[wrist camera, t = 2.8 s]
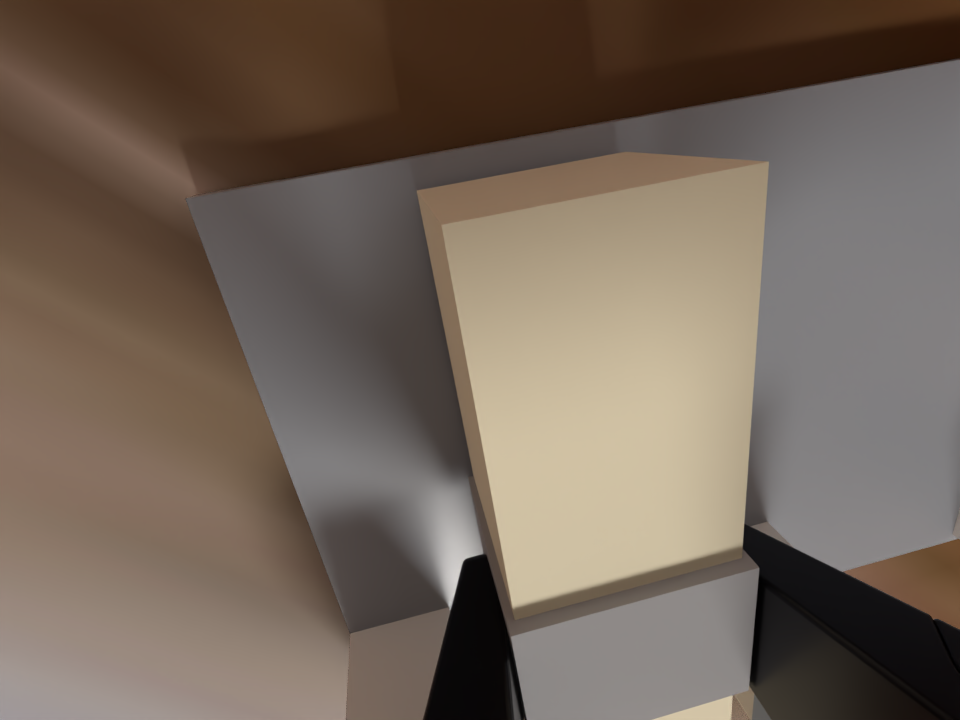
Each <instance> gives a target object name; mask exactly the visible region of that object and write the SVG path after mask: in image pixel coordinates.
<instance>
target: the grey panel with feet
mask: <svg viewBox="0 0 960 720" xmlns="http://www.w3.org/2000/svg"><path fill="white" fill-rule="evenodd" d="M621 152H637V153H651V154H666V155H680V156H695V157H709V158H724V159H738V160H753V161H767V162H769V169H768V184H767V198H766V213H765V227H764V242H763V257H762V271H761V286H760V301H759V315H758V330H757V344H756V359H755V374H754V388H753V403H752V418H751V432H750V447H749V461H748V476H747V491H746V505H745V520H744V523H745V524H747V525H749V526H751V527H753V528H755V529H757V530H759V531H761V532H763V533H765V534H767V535H769V536H771V537H773V538H775V539H777V540H779V541H781V542H783V543H785V544H787V545H789V546H791V547H793V548H795V549H797V550H799V551H801V552H803V553H805V554H807V555H809V556H811V557H813V558H815V559H817V560H819V561H822V562H824V563H826V564H828V565H830V566H832V567H834V568H836V569H838V570H840V571H846V570H849V569H853V568H856V567H860V566H863V565H867V564H870V563H874V562H877V561H881V560H885V559H888V558H892V557H895V556H899V555H902V554H906V553H909V552H913V551H916V550H920V549H923V548H927V547H930V546H934V545H938V544H941V543H945V542H948V541H952V540H955V539H960V58H958V59H952V60H947V61H941V62H935V63H930V64H924V65H919V66H913V67H908V68H902V69H896V70H891V71H885V72H880V73H874V74H868V75H863V76H857V77H852V78H846V79H840V80H835V81H829V82H824V83H818V84H813V85H807V86H801V87H796V88H790V89H785V90H779V91H773V92H768V93H762V94H757V95H751V96H746V97H740V98H734V99H729V100H723V101H718V102H712V103H706V104H701V105H695V106H690V107H684V108H678V109H673V110H667V111H662V112H656V113H651V114H645V115H639V116H634V117H628V118H623V119H617V120H611V121H606V122H600V123H595V124H589V125H583V126H578V127H572V128H567V129H561V130H556V131H550V132H544V133H539V134H533V135H528V136H522V137H516V138H511V139H505V140H500V141H494V142H489V143H483V144H477V145H472V146H466V147H461V148H455V149H449V150H444V151H438V152H433V153H427V154H421V155H416V156H410V157H405V158H399V159H394V160H388V161H382V162H377V163H371V164H366V165H360V166H354V167H349V168H343V169H338V170H332V171H327V172H321V173H315V174H310V175H304V176H299V177H293V178H287V179H282V180H276V181H271V182H265V183H259V184H254V185H248V186H243V187H237V188H232V189H226V190H220V191H215V192H209V193H204V194H198V195H195V196H192V197H189V198H186V202H187V204H188V207H189V210H190V212H191V215H192V218H193V220H194V223H195V226H196V228H197V231H198V233H199V236H200V239H201V241H202V244H203V247H204V249H205V252H206V255H207V257H208V260H209V262H210V265H211V268H212V270H213V273H214V276H215V278H216V281H217V284H218V286H219V289H220V292H221V294H222V297H223V299H224V302H225V305H226V307H227V310H228V313H229V315H230V318H231V321H232V323H233V326H234V328H235V331H236V334H237V336H238V339H239V342H240V344H241V347H242V350H243V352H244V355H245V357H246V360H247V363H248V365H249V368H250V371H251V373H252V376H253V379H254V381H255V384H256V386H257V389H258V392H259V394H260V397H261V400H262V402H263V405H264V408H265V410H266V413H267V416H268V418H269V421H270V423H271V426H272V429H273V431H274V434H275V437H276V439H277V442H278V445H279V447H280V450H281V452H282V455H283V458H284V460H285V463H286V466H287V468H288V471H289V474H290V476H291V479H292V481H293V484H294V487H295V489H296V492H297V495H298V497H299V500H300V503H301V505H302V508H303V511H304V513H305V516H306V518H307V521H308V524H309V526H310V529H311V532H312V534H313V537H314V540H315V542H316V545H317V547H318V550H319V553H320V555H321V558H322V561H323V563H324V566H325V569H326V571H327V574H328V576H329V579H330V582H331V584H332V587H333V590H334V592H335V595H336V598H337V600H338V603H339V605H340V608H341V611H342V613H343V616H344V619H345V621H346V624H347V627H348V629H349V632H350V647H349V666H348V686H347V705H346V720H423V716H424V712H425V709H426V705H427V701H428V697H429V693H430V689H431V685H432V681H433V677H434V673H435V669H436V665H437V661H438V657H439V654H440V650H441V646H442V642H443V638H444V634H445V630H446V626H447V622H448V618H449V614H450V610H451V606H452V602H453V598H454V595H455V591H456V587H457V583H458V579H459V575H460V571H461V567H462V563H463V561H464V560H465V559H466V558H469V557H473V556H477V555H481V554H484V553H483V548H482V543H481V538H480V533H479V529H478V524H477V519H476V514H475V509H474V504H473V499H472V494H471V490H470V485H469V480H468V477H471V476H473V471H472V466H471V461H470V456H469V451H468V446H467V441H466V436H465V431H464V426H463V421H462V416H461V411H460V406H459V401H458V396H457V391H456V385H455V380H454V375H453V370H452V365H451V360H450V355H449V350H448V345H447V340H446V335H445V330H444V325H443V320H442V315H441V310H440V305H439V300H438V295H437V290H436V285H435V280H434V275H433V270H432V265H431V260H430V255H429V250H428V245H427V240H426V235H425V230H424V225H423V220H422V215H421V210H420V205H419V200H418V195H417V190H422V189H428V188H433V187H439V186H444V185H449V184H455V183H460V182H465V181H471V180H476V179H482V178H487V177H492V176H498V175H503V174H508V173H514V172H519V171H525V170H530V169H535V168H541V167H546V166H551V165H557V164H562V163H568V162H573V161H578V160H584V159H589V158H594V157H600V156H605V155H611V154H616V153H621ZM734 696H735V697H736V699H737V701H738V702H739V704H740V705H741V707H742V708H743V710H744V711H745V713H746V715H747V716H748V718H749V719H750V720H771V719H770V717H769V715H768V714H767V712H766V711H765V709H764V708H763V706H762V705H761V703H760V702H759V700H758V699H757V697H756V696H755V694H754V693H753V691H752V689H751V688H750V686H749V691H745V692H742V693H739V694H736V695H734Z"/></svg>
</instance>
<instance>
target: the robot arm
mask: <svg viewBox="0 0 960 720" xmlns="http://www.w3.org/2000/svg"><path fill="white" fill-rule="evenodd" d="M743 550H744V551H745V552H746V553H747V554H748V555H749V557H750V558H751V559H752V560H753V561H754V562H755V563H756V564H757V566H758V567H759V578H758V590H757V601H756V612H755V624H754V635H753V647H752V658H751V669H750V681H749V686H750V688H751V689H752V691H753V693H754V694H755V696H756V697H757V699H758V700H759V702H760V703H761V705H762V706H763V708H764V709H765V711H766V712H767V714H768V715H769V717H770V719H771V720H960V630H959V629H957V628H955V627H953V626H951V625H949V624H947V623H945V622H943V621H941V620H939V619H934V620H933V619H932V617H931V616H930V615H929V614H927V613H925V612H923V611H920V610H918V609H916V608H914V607H912V606H910V605H908V604H906V603H904V602H902V601H900V600H898V599H896V598H894V597H892V596H890V595H888V594H886V593H884V592H882V591H880V590H878V589H876V588H874V587H872V586H870V585H868V584H866V583H864V582H862V581H860V580H858V579H856V578H854V577H852V576H850V575H848V574H846V573H844V572H842V571H840V570H838V569H836V568H834V567H832V566H830V565H828V564H826V563H824V562H822V561H819V560H817V559H815V558H813V557H811V556H809V555H807V554H805V553H803V552H801V551H799V550H797V549H795V548H793V547H791V546H789V545H787V544H785V543H783V542H781V541H779V540H777V539H775V538H773V537H771V536H769V535H767V534H765V533H763V532H761V531H759V530H757V529H755V528H753V527H751V526H749V525H747V524H745V523H744V535H743ZM423 720H524V713H523V708H522V703H521V698H520V693H519V688H518V683H517V678H516V673H515V668H514V663H513V658H512V652H511V647H510V642H509V637H508V632H507V627H506V623H505V619H504V616H503V612H502V608H501V605H500V601H499V597H498V594H497V590H496V587H495V583H494V579H493V576H492V572H491V569H490V565H489V561H488V558H487V555H486V554H481V555H477V556H473V557H469V558H466V559H465V560H464V561H463V563H462V567H461V571H460V575H459V579H458V583H457V587H456V591H455V595H454V598H453V602H452V606H451V610H450V614H449V618H448V622H447V626H446V630H445V634H444V638H443V642H442V646H441V650H440V654H439V657H438V661H437V665H436V669H435V673H434V677H433V681H432V685H431V689H430V693H429V697H428V701H427V705H426V709H425V712H424V716H423Z"/></svg>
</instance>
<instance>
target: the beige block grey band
mask: <svg viewBox="0 0 960 720" xmlns="http://www.w3.org/2000/svg"><path fill="white" fill-rule="evenodd" d="M768 169H769V162H767V161H753V160H738V159H724V158H709V157H695V156H680V155H666V154H651V153H637V152H621V153H616V154H611V155H605V156H600V157H594V158H589V159H584V160H578V161H573V162H568V163H562V164H557V165H551V166H546V167H541V168H535V169H530V170H525V171H519V172H514V173H508V174H503V175H498V176H492V177H487V178H482V179H476V180H471V181H465V182H460V183H455V184H449V185H444V186H439V187H433V188H428V189H422V190H417V195H418V200H419V205H420V210H421V215H422V220H423V225H424V230H425V235H426V240H427V245H428V250H429V255H430V260H431V265H432V270H433V275H434V280H435V285H436V290H437V295H438V300H439V305H440V310H441V315H442V320H443V325H444V330H445V335H446V340H447V345H448V350H449V355H450V360H451V365H452V370H453V375H454V380H455V385H456V391H457V396H458V401H459V406H460V411H461V416H462V421H463V426H464V431H465V436H466V441H467V446H468V451H469V456H470V461H471V466H472V471H473V476H471V477H468V480H469V485H470V490H471V494H472V499H473V504H474V509H475V514H476V519H477V524H478V529H479V533H480V538H481V543H482V548H483V553H484V554H486V555H487V558H488V561H489V565H490V569H491V572H492V576H493V579H494V583H495V587H496V590H497V594H498V597H499V601H500V605H501V608H502V612H503V616H504V619H505V623H506V627H507V632H508V637H509V642H510V647H511V652H512V658H513V663H514V668H515V673H516V678H517V683H518V688H519V693H520V698H521V703H522V708H523V713H524V720H731V710H732V695H736V694H739V693H742V692H745V691H749V681H750V669H751V658H752V647H753V635H754V624H755V612H756V601H757V590H758V578H759V567H758V566H757V564H756V563H755V562H754V561H753V560H752V559H751V558H750V557H749V555H748V554H747V553H746V552H745V551H744V550H743V535H744V520H745V505H746V491H747V476H748V461H749V447H750V432H751V418H752V403H753V388H754V374H755V359H756V344H757V330H758V315H759V301H760V286H761V271H762V257H763V242H764V227H765V213H766V198H767V184H768Z"/></svg>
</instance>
